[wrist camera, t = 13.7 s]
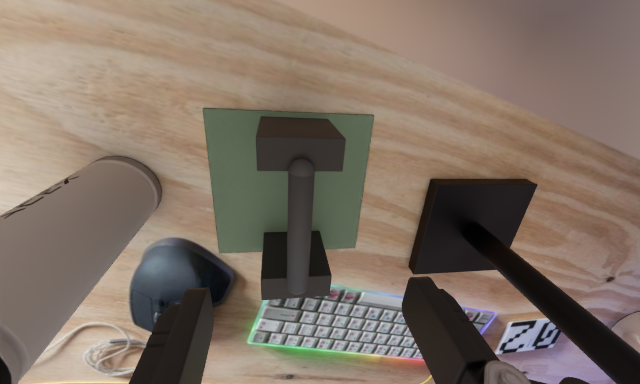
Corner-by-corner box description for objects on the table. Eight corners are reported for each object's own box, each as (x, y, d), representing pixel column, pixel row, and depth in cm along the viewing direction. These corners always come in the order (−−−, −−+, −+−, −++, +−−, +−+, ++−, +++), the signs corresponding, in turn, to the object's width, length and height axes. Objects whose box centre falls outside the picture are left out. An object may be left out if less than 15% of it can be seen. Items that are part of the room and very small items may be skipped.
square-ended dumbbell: (260, 116, 24) (254, 142, 16) (328, 118, 25) (351, 144, 17) (264, 250, 30) (260, 313, 23) (318, 248, 31) (332, 308, 24)
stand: (386, 178, 29) (937, 773, 5) (526, 179, 32) (1322, 561, 8) (370, 268, 34) (599, 772, 10) (492, 262, 37) (902, 646, 13)
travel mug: (156, 226, 27) (-64, 539, 10) (79, 203, 25) (-384, 548, 8) (174, 173, 25) (-62, 445, 8) (93, 143, 23) (-500, 422, 5)
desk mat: (203, 108, 23) (202, 108, 23) (372, 114, 26) (374, 115, 25) (220, 251, 30) (219, 253, 29) (354, 246, 32) (355, 248, 32)
